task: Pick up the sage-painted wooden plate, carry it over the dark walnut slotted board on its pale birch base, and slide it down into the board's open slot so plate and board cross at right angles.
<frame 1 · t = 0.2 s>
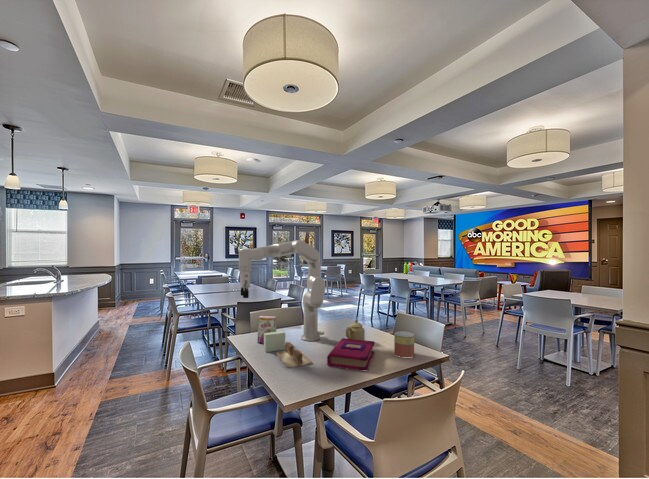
hand: (244, 296, 185), 31 cm above the table, fingers open, 9 cm apart
sage plate: (274, 349, 181), on the table
canned food: (404, 355, 174), on the table
sugar bowl: (355, 342, 195), on the table
slot board: (293, 358, 167), on the table
candy bar box: (266, 342, 194), on the table
book: (352, 360, 167), on the table
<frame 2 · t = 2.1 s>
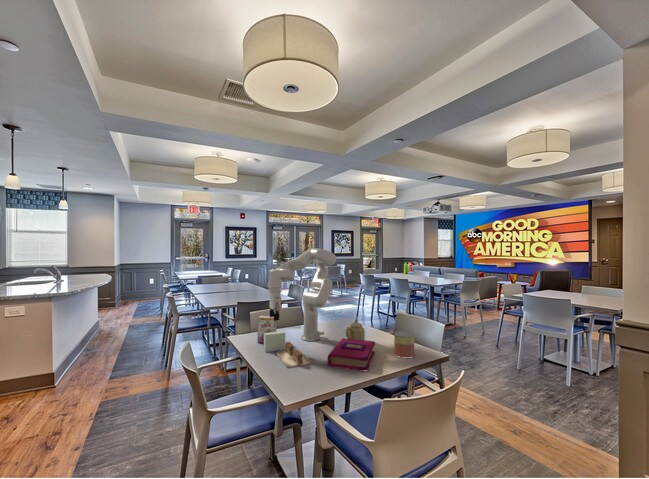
hand: (274, 318, 181), 19 cm above the table, fingers open, 9 cm apart
nothing on the table moved.
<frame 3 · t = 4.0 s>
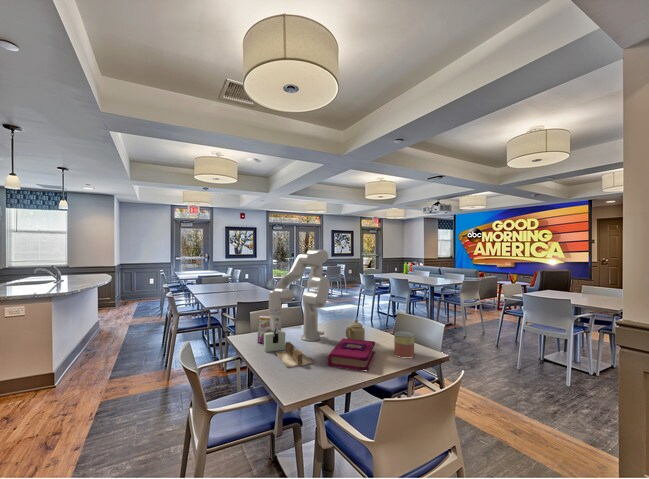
hand: (274, 341, 181), 5 cm above the table, fingers closed on sage plate, 4 cm apart
sage plate: (274, 349, 181), on the table, touching gripper
everything else where it was.
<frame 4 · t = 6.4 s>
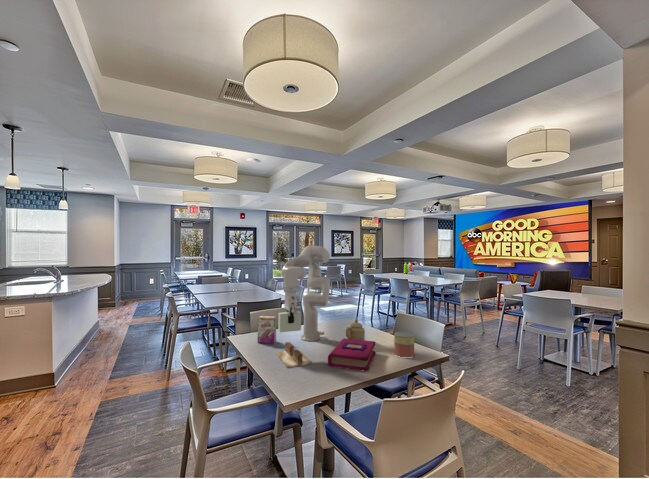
hand: (289, 321, 169), 20 cm above the table, fingers closed on sage plate, 4 cm apart
sage plate: (289, 330, 169), point 15 cm above the table, touching gripper
everything else where it was.
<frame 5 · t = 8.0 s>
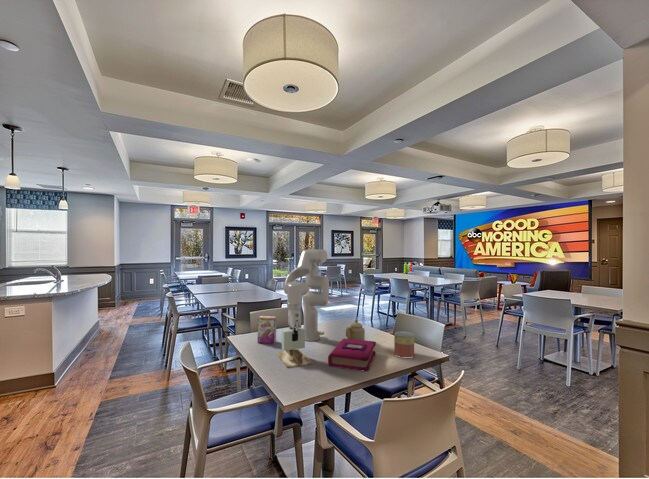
hand: (293, 339, 167), 11 cm above the table, fingers closed on sage plate, 4 cm apart
sage plate: (293, 348, 167), point 6 cm above the table, touching gripper
everything else where it was.
when the fingers open (7 cm above the table, at t = 9.0 s): sage plate drops 1 cm, resting on slot board.
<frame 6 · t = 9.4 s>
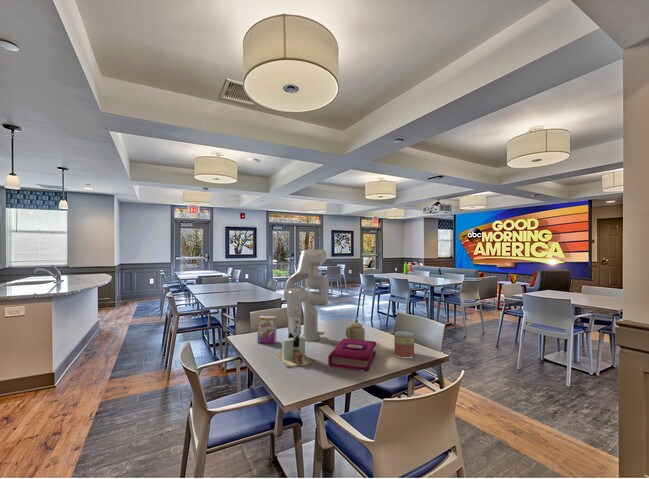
hand: (293, 344, 167), 8 cm above the table, fingers open, 8 cm apart
sage plate: (293, 357, 167), point 1 cm above the table, touching slot board
everything else where it was.
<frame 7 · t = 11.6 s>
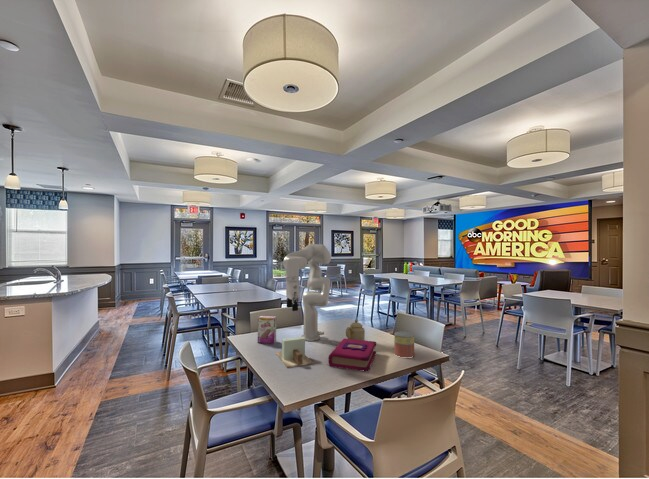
hand: (292, 308, 173), 26 cm above the table, fingers open, 9 cm apart
nothing on the table moved.
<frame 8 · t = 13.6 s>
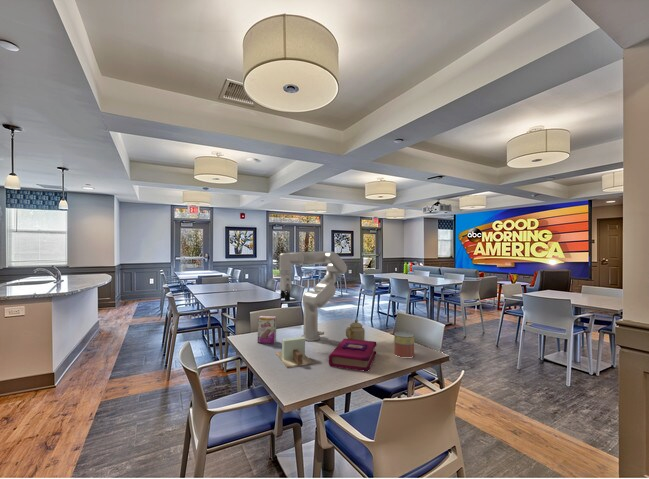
hand: (285, 299, 190), 28 cm above the table, fingers open, 9 cm apart
nothing on the table moved.
at the end: sage plate 0.0 cm off-centre on the slot board, point 0.8 cm above the slot board's base; sage plate tilted 0°; the gripper is holding nothing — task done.
